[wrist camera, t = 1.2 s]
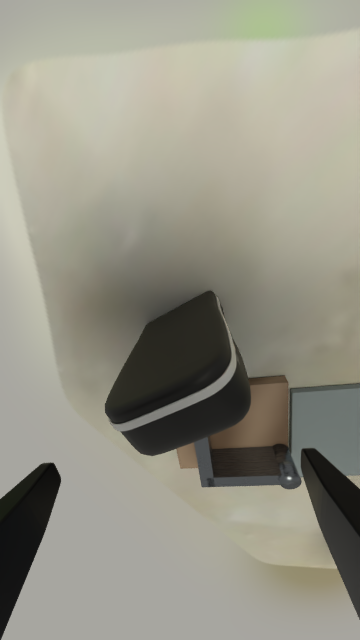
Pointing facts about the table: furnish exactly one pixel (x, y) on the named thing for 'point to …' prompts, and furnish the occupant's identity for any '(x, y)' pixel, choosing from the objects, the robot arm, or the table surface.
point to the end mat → (327, 425)
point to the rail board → (252, 421)
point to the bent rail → (246, 466)
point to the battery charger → (180, 380)
